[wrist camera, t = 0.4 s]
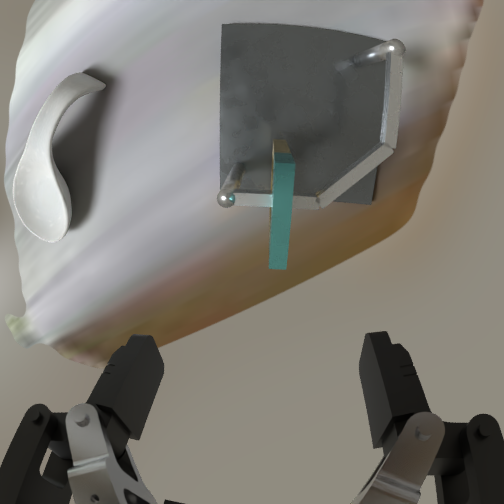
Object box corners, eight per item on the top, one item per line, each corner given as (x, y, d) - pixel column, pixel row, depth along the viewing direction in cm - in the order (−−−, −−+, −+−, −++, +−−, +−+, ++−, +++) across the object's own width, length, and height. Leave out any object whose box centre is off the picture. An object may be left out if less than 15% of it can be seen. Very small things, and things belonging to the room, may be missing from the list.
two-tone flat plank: (272, 139, 26) (275, 162, 16) (285, 139, 26) (295, 163, 16) (269, 210, 29) (268, 268, 20) (281, 211, 29) (286, 269, 20)
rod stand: (223, 26, 23) (201, -6, 13) (383, 42, 22) (430, 25, 13) (221, 192, 32) (202, 233, 23) (368, 201, 31) (403, 244, 22)
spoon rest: (74, 245, 37) (48, 271, 31) (23, 209, 35) (-5, 229, 28) (129, 93, 27) (96, 95, 20) (64, 63, 24) (27, 64, 18)
